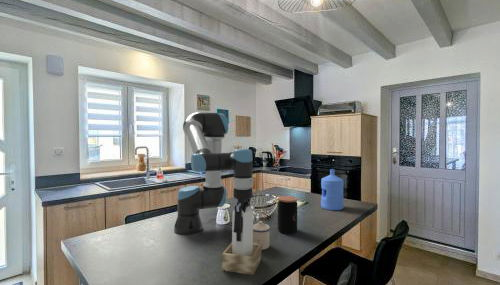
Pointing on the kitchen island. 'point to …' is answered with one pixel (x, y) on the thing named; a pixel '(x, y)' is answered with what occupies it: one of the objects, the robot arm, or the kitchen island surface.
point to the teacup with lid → (261, 235)
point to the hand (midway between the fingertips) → (242, 244)
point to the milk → (244, 234)
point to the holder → (241, 260)
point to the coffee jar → (287, 214)
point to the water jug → (332, 192)
